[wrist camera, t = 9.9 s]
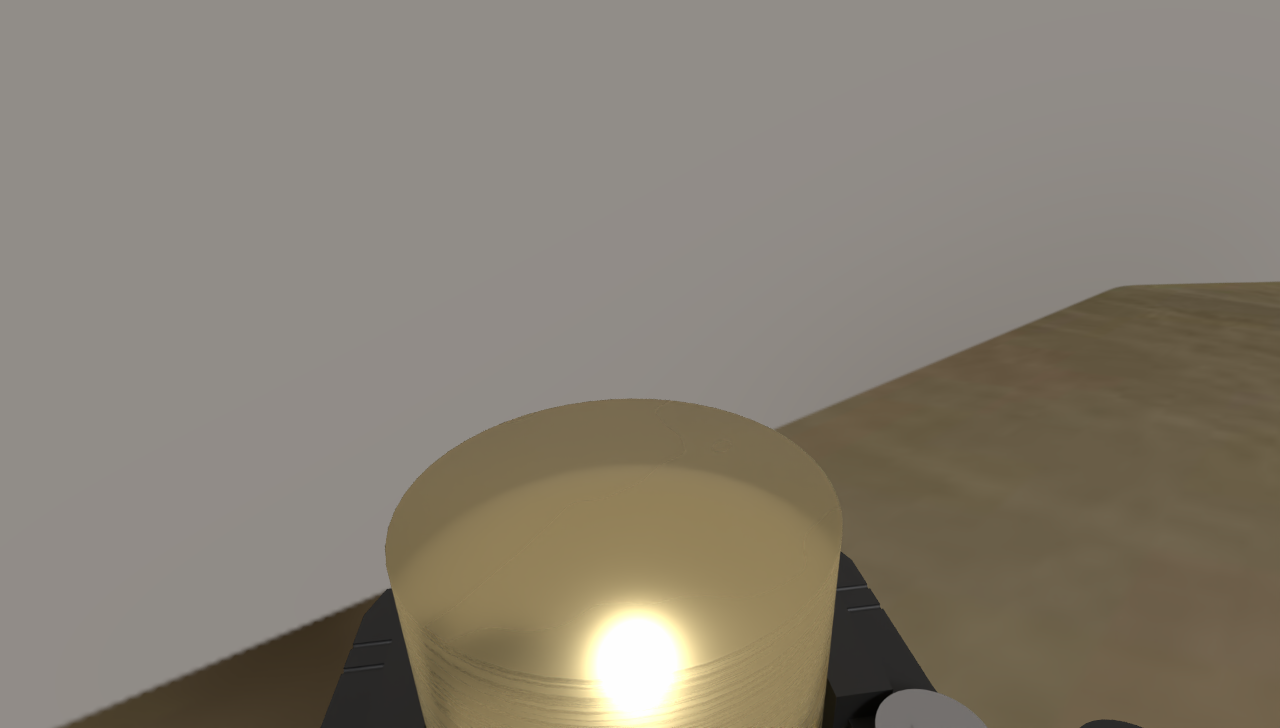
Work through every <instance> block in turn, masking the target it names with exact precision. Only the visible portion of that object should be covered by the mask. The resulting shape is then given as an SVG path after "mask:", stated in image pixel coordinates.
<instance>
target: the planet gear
mask: <svg viewBox="0 0 1280 728" xmlns="http://www.w3.org/2000/svg"><path fill="white" fill-rule="evenodd" d="M842 531H843V529H842V513H841V508H840V505H839V501H838V498H837V494H836V492H835V490H834V488H833V486H832V484H831V483H830V481H829V479H828V477H827V476H826V474H825V473H824V472H823V471H822V469H821V468H820V467H819V465H818V464H817V463H816V462H815V461H814V460H813V459H812V458H811V457H810V456H809V455H808V454H807V453H806V452H805V451H804V450H803V449H801V448H800V447H799V446H797V445H796V444H795V443H793V442H792V441H791V440H789V439H788V438H786V437H784V436H783V435H781V434H779V433H778V432H776V431H774V430H773V429H771V428H768V427H766V426H764V425H762V424H760V423H758V422H755V421H753V420H750V419H748V418H745V417H743V416H740V415H737V414H734V413H731V412H727V411H724V410H720V409H717V408H713V407H707V406H703V405H698V404H693V403H686V402H679V401H670V400H657V399H610V400H600V401H589V402H582V403H576V404H569V405H564V406H559V407H554V408H550V409H546V410H542V411H538V412H535V413H531V414H527V415H524V416H521V417H518V418H516V419H512V420H510V421H507V422H504V423H502V424H499V425H497V426H495V427H492V428H490V429H488V430H485V431H483V432H481V433H480V434H478V435H476V436H474V437H472V438H470V439H468V440H466V441H464V442H463V443H461V444H460V445H458V446H456V447H455V448H453V449H452V450H450V451H448V452H447V453H446V454H445V455H443V456H442V457H441V458H439V459H438V460H437V461H436V462H434V463H433V464H432V465H431V466H430V467H429V468H427V469H426V470H425V471H424V472H423V473H422V474H421V475H420V476H419V477H418V478H417V479H416V481H415V482H414V483H413V484H412V485H411V487H410V488H409V489H408V490H407V492H406V493H405V494H404V496H403V497H402V499H401V501H400V503H399V505H398V506H397V508H396V509H395V512H394V514H393V517H392V520H391V522H390V525H389V527H388V533H387V538H386V545H385V552H386V567H387V571H388V575H389V579H390V583H391V587H392V591H393V595H394V599H395V603H396V608H397V612H398V616H399V620H400V624H401V628H402V632H403V636H404V640H405V644H406V648H407V652H408V656H409V660H410V664H411V668H412V672H413V677H414V681H415V685H416V689H417V693H418V697H419V701H420V705H421V709H422V713H423V717H424V721H425V725H426V728H822V720H823V711H824V701H825V692H826V682H827V673H828V664H829V654H830V645H831V635H832V626H833V616H834V607H835V597H836V588H837V578H838V569H839V560H840V550H841V541H842Z"/></svg>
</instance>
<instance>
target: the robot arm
mask: <svg viewBox="0 0 1280 728" xmlns="http://www.w3.org/2000/svg"><path fill="white" fill-rule="evenodd" d="M321 728H426V725H425V721H424V717H423V713H422V709H421V705H420V701H419V697H418V693H417V689H416V685H415V681H414V677H413V672H412V668H411V664H410V660H409V656H408V652H407V648H406V644H405V640H404V636H403V632H402V628H401V624H400V620H399V616H398V612H397V608H396V603H395V599H394V595H393V591H392V589H387V590H386V591H385V592H384V593H383V594H382V595H381V596H380V598H379V599H378V600H377V601H376V602H375V603H374V604H373V606H372V607H371V608H370V609H369V610H368V611H367V612H366V613H365V615H364V617H363V619H362V622H361V625H360V627H359V630H358V632H357V635H356V637H355V640H354V643H353V649H351V650H350V653H349V656H348V658H347V661H346V663H345V666H344V673H343V674H341V676H340V679H339V681H338V684H337V687H336V689H335V692H334V694H333V697H332V700H331V702H330V705H329V707H328V710H327V712H326V715H325V718H324V720H323V723H322V725H321ZM822 728H987V727H986V725H985V724H984V723H983V722H982V721H981V720H980V719H979V718H978V717H977V716H976V715H975V714H974V713H973V712H972V711H970V710H969V709H968V708H967V707H965V706H964V705H962V704H961V703H959V702H957V701H956V700H954V699H952V698H950V697H948V696H945V695H943V694H940V693H937V691H936V690H935V689H934V687H933V686H932V684H931V683H930V681H929V680H928V678H927V677H926V675H925V674H924V672H923V670H922V669H921V667H920V666H919V664H918V663H917V661H916V659H915V658H914V656H913V655H912V653H911V652H910V650H909V649H908V647H907V645H906V644H905V642H904V641H903V639H902V638H901V636H900V635H899V633H898V631H897V630H896V628H895V627H894V625H893V624H892V622H891V620H890V619H889V617H888V616H887V614H886V613H885V611H884V610H883V609H881V608H880V603H879V602H878V600H877V599H876V597H875V596H874V594H873V592H872V591H871V589H868V587H867V583H866V581H865V580H864V578H863V577H862V575H861V574H860V572H859V571H858V569H857V567H856V566H855V564H854V563H853V561H852V560H851V559H850V558H849V557H847V556H846V555H845V554H843V553H842V552H841V551H840V560H839V569H838V578H837V588H836V597H835V607H834V616H833V626H832V635H831V645H830V654H829V664H828V673H827V682H826V692H825V701H824V711H823V720H822ZM1080 728H1142V727H1139V726H1137V725H1134V724H1130V723H1127V722H1122V721H1116V720H1096V721H1092V722H1089V723H1086V724H1084V725H1083V726H1082V727H1080Z"/></svg>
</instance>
